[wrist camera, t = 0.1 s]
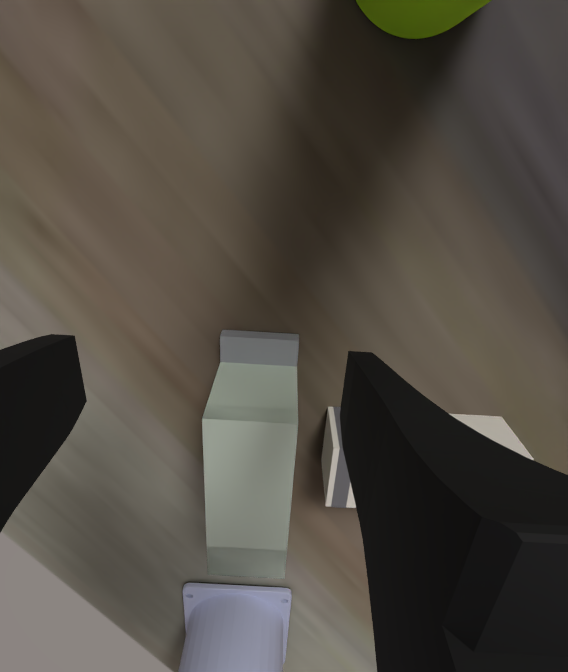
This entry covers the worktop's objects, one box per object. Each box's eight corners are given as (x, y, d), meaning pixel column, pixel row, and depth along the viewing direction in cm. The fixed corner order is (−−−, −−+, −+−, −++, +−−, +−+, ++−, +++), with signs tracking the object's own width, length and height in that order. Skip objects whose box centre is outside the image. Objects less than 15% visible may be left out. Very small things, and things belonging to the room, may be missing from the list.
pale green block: (284, 511, 27) (282, 596, 22) (223, 508, 27) (208, 593, 22) (298, 334, 21) (300, 393, 16) (222, 329, 21) (201, 387, 16)
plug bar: (482, 469, 25) (510, 516, 22) (321, 460, 25) (325, 506, 22) (501, 415, 24) (534, 458, 20) (327, 406, 23) (333, 447, 20)
